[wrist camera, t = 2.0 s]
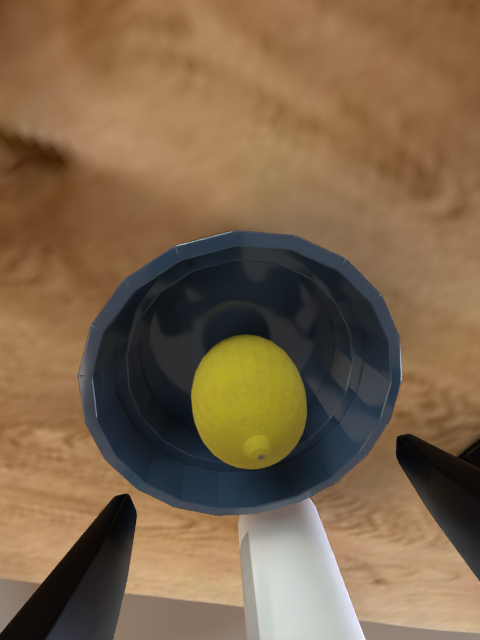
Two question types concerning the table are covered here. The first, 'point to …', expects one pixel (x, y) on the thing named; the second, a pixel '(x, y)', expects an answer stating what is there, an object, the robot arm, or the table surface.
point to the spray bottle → (293, 578)
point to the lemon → (248, 402)
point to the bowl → (221, 323)
